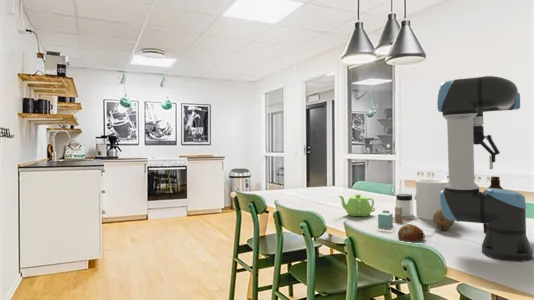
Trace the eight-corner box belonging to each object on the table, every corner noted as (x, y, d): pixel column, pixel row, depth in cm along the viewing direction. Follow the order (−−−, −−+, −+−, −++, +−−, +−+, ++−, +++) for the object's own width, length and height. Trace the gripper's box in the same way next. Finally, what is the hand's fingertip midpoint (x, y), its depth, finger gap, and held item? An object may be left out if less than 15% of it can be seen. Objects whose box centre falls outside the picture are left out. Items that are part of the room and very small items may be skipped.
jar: (393, 215, 194) (392, 194, 194) (405, 214, 197) (404, 193, 196) (403, 218, 186) (403, 196, 185) (416, 217, 188) (415, 195, 188)
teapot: (355, 221, 184) (355, 197, 183) (338, 216, 196) (337, 194, 196) (377, 217, 191) (377, 194, 191) (359, 213, 204) (358, 191, 203)
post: (400, 221, 176) (400, 207, 176) (395, 220, 177) (394, 207, 177) (402, 220, 178) (401, 206, 178) (396, 219, 179) (396, 206, 179)
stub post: (387, 218, 184) (387, 211, 184) (382, 217, 185) (382, 211, 185) (389, 217, 186) (389, 210, 186) (384, 216, 187) (384, 210, 187)
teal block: (388, 229, 165) (388, 215, 165) (378, 227, 168) (378, 214, 168) (392, 226, 169) (392, 213, 169) (382, 225, 172) (382, 212, 172)
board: (406, 225, 170) (406, 223, 170) (376, 222, 180) (376, 220, 180) (413, 221, 179) (413, 219, 179) (385, 217, 189) (385, 216, 189)
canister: (434, 214, 194) (433, 178, 193) (457, 220, 178) (456, 181, 178) (410, 216, 190) (409, 180, 189) (431, 223, 174) (430, 183, 174)
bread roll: (407, 243, 154) (399, 225, 157) (429, 236, 149) (420, 218, 151) (400, 248, 147) (391, 230, 149) (422, 241, 141) (413, 223, 143)
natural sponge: (441, 233, 155) (441, 211, 155) (428, 228, 164) (428, 207, 164) (459, 231, 157) (458, 209, 157) (445, 226, 166) (445, 206, 166)
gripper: (506, 124, 164) (507, 168, 164) (449, 127, 182) (450, 167, 182) (502, 124, 158) (503, 170, 159) (444, 127, 176) (445, 168, 177)
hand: (475, 168), depth 170 cm, fingers open, 13 cm apart
